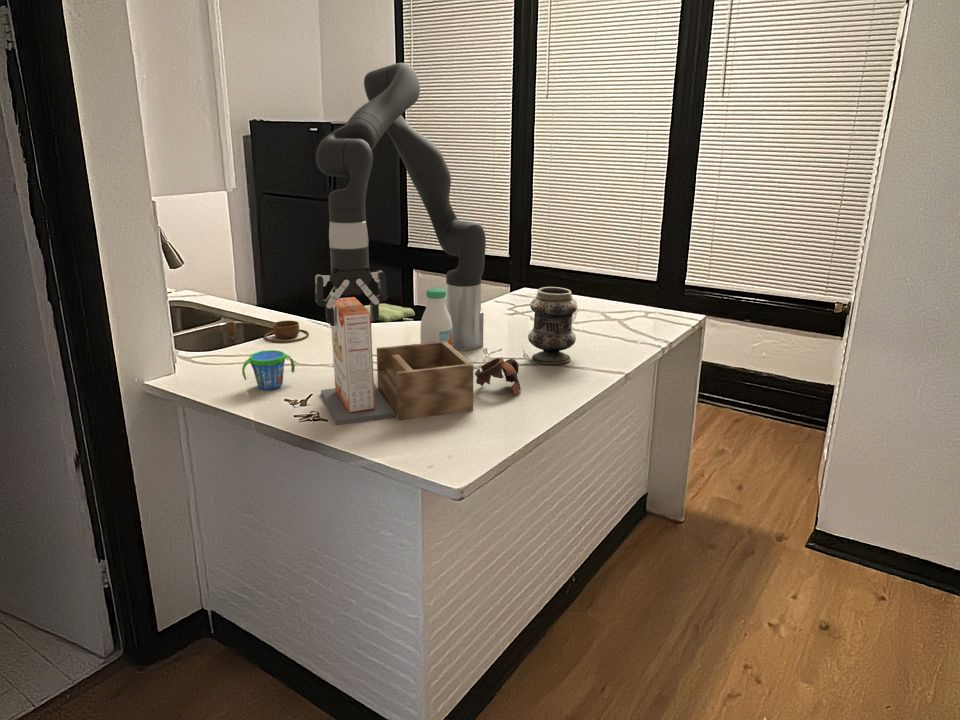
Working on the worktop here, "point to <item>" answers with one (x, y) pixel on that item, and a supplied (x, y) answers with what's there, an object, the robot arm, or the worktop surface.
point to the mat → (343, 416)
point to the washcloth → (392, 312)
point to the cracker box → (353, 355)
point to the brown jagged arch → (499, 372)
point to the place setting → (276, 331)
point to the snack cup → (268, 368)
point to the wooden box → (426, 380)
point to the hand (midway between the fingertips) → (352, 323)
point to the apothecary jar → (552, 324)
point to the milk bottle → (436, 318)
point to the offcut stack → (397, 368)
